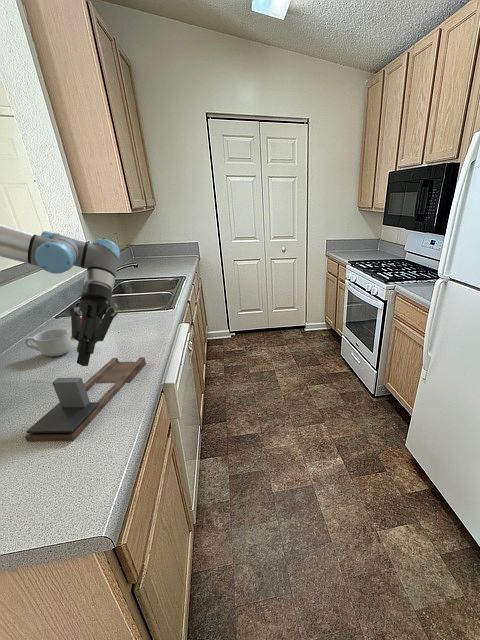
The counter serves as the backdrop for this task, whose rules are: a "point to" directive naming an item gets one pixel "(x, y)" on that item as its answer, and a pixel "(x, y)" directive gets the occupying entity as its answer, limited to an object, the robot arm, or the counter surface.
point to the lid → (66, 408)
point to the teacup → (51, 342)
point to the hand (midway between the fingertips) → (82, 364)
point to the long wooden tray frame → (107, 374)
